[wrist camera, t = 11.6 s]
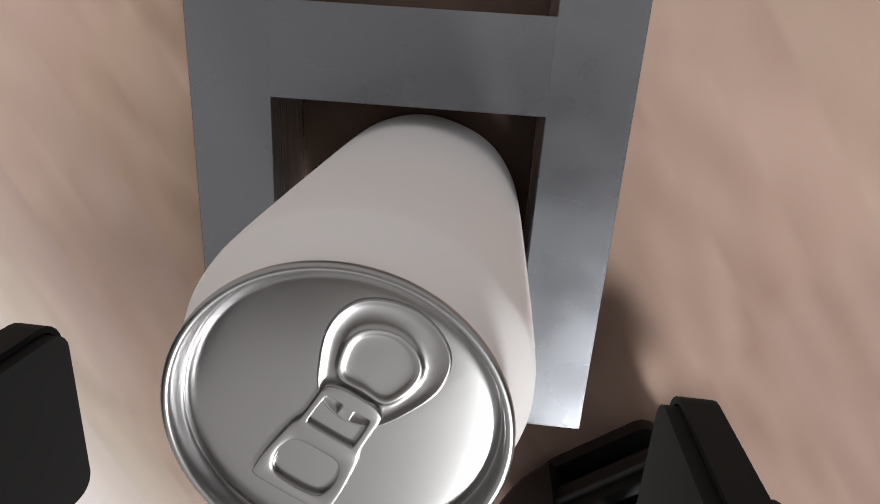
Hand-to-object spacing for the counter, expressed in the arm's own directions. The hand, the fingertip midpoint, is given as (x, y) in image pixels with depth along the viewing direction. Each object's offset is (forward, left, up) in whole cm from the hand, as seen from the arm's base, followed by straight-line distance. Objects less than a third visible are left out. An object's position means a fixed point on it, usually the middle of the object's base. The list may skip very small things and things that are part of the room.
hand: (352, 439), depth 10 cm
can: (0, 0, -12) cm, 12 cm away
